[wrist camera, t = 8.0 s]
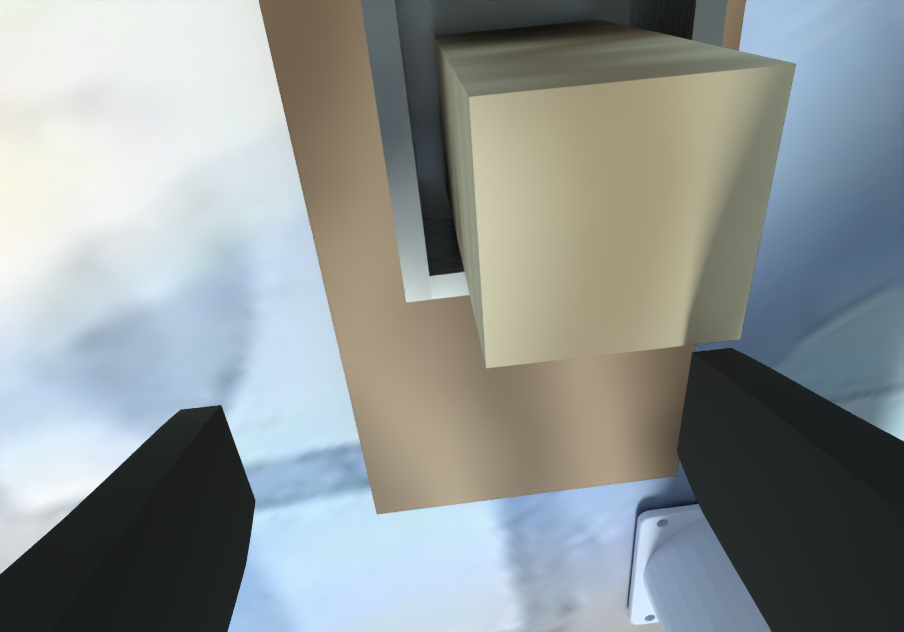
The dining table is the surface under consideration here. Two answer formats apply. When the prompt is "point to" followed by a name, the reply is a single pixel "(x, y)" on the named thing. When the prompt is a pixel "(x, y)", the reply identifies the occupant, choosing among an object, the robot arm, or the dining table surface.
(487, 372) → the plank
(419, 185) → the grey open box
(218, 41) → the dining table surface
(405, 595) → the dining table surface
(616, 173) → the beige wooden block
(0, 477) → the dining table surface
